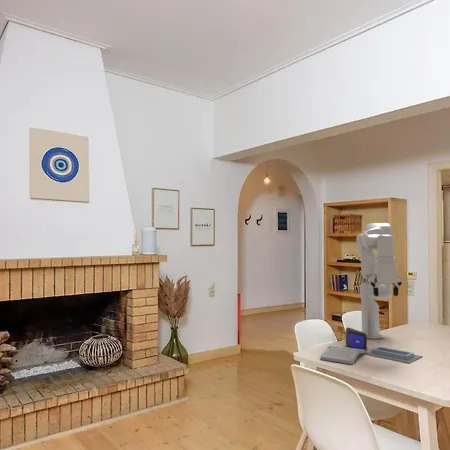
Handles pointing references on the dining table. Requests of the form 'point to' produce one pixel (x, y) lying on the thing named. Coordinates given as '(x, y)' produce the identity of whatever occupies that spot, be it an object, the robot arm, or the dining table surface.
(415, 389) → the dining table surface
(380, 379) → the dining table surface
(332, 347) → the gadget
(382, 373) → the dining table surface
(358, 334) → the leaning round-cornered charcoal block
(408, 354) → the switch cradle
